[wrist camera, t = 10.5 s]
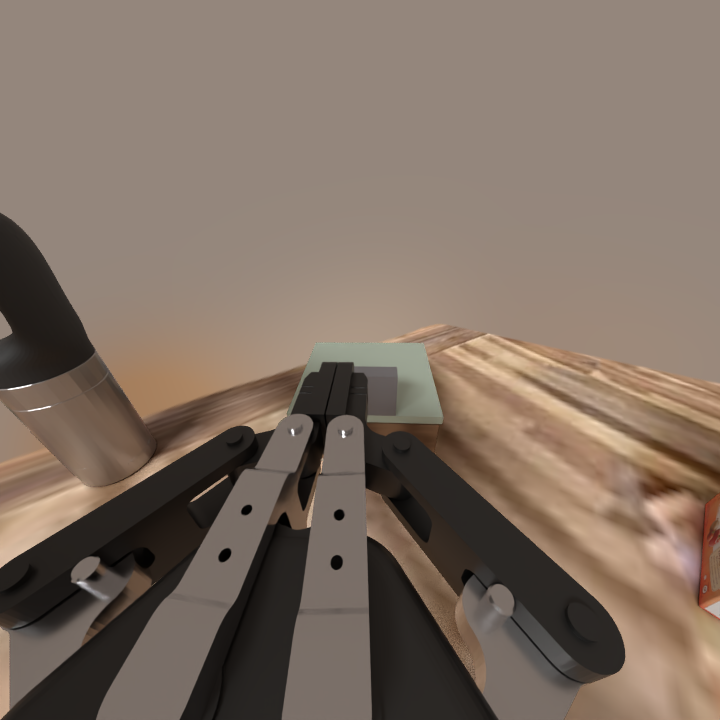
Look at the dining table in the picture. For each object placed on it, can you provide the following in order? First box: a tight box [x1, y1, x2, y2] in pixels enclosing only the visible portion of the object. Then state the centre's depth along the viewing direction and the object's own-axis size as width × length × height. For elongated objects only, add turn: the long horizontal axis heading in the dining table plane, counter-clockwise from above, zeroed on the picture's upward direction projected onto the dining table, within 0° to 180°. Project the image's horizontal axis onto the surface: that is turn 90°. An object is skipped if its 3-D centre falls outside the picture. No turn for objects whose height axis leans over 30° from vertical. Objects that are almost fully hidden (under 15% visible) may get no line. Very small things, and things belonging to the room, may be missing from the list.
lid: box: [287, 343, 443, 424], centre depth 40 cm, size 20×18×7 cm
